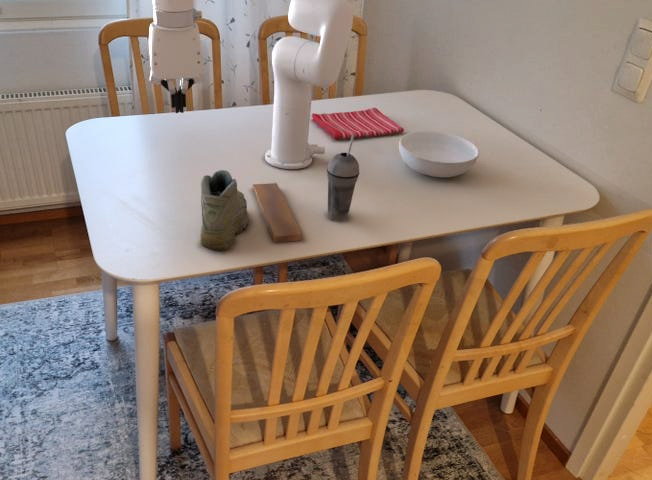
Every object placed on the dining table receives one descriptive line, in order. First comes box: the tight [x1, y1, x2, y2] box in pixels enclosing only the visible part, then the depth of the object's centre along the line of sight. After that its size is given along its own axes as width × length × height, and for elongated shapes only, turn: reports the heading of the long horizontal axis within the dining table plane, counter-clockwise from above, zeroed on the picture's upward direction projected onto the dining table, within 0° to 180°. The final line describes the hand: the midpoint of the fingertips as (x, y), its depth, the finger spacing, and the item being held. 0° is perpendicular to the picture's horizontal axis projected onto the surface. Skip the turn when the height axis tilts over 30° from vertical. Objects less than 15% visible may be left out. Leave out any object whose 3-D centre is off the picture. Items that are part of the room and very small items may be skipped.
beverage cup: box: [326, 135, 360, 222], centre depth 141 cm, size 7×7×20 cm
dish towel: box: [311, 107, 405, 141], centre depth 191 cm, size 17×24×3 cm
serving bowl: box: [398, 130, 480, 178], centre depth 169 cm, size 21×21×7 cm
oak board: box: [252, 182, 303, 244], centre depth 145 cm, size 6×24×2 cm, turn 14°
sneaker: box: [199, 169, 250, 251], centre depth 134 cm, size 11×19×15 cm, turn 155°
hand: (178, 110), depth 131 cm, fingers closed
